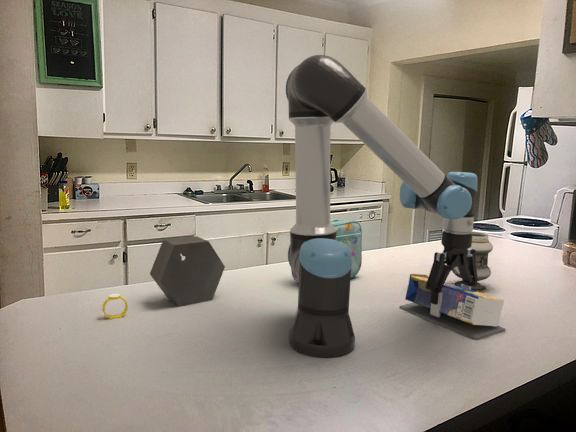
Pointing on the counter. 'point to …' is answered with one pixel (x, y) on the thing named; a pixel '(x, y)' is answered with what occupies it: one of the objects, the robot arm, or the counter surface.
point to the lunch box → (348, 242)
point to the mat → (453, 322)
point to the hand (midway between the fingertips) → (449, 311)
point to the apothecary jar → (478, 260)
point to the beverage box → (458, 302)
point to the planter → (187, 270)
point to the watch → (113, 297)
